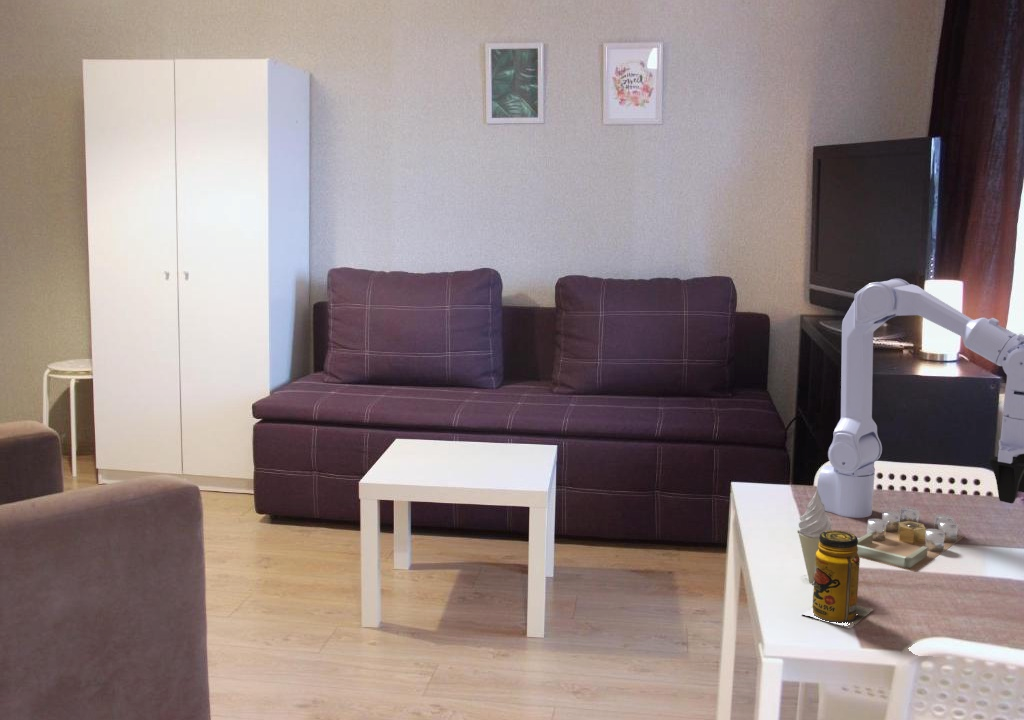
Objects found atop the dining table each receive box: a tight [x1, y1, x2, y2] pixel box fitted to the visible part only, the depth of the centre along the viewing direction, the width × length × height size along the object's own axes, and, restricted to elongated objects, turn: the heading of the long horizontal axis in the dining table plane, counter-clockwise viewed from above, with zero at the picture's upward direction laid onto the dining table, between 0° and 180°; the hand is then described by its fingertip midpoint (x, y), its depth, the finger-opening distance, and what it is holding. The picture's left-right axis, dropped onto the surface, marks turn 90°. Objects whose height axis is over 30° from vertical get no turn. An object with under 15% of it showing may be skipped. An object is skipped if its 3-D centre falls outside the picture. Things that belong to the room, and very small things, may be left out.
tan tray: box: [857, 527, 966, 573], centre depth 178 cm, size 12×22×3 cm, turn 138°
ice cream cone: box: [797, 489, 832, 584], centre depth 163 cm, size 5×5×15 cm
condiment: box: [812, 529, 874, 629], centre depth 152 cm, size 7×8×12 cm
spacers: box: [866, 506, 959, 553], centre depth 181 cm, size 12×13×3 cm
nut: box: [898, 521, 926, 544], centre depth 180 cm, size 4×5×3 cm
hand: (1014, 496), depth 175 cm, fingers open, 7 cm apart
